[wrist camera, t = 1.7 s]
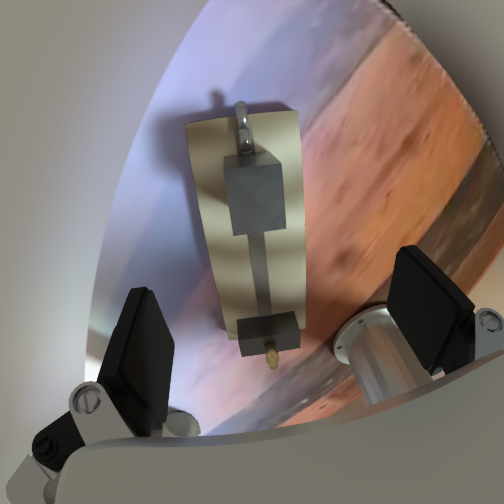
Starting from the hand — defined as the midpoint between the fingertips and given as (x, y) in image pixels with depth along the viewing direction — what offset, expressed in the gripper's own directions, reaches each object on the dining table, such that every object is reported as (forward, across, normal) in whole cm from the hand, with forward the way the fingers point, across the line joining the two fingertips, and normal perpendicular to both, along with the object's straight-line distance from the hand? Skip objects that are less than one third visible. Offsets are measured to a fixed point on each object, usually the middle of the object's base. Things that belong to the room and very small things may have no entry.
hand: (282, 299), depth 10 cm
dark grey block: (+17, 0, -2) cm, 17 cm away
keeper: (+17, 0, +19) cm, 25 cm away
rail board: (+18, 0, +7) cm, 20 cm away
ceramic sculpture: (+19, +21, +46) cm, 54 cm away
